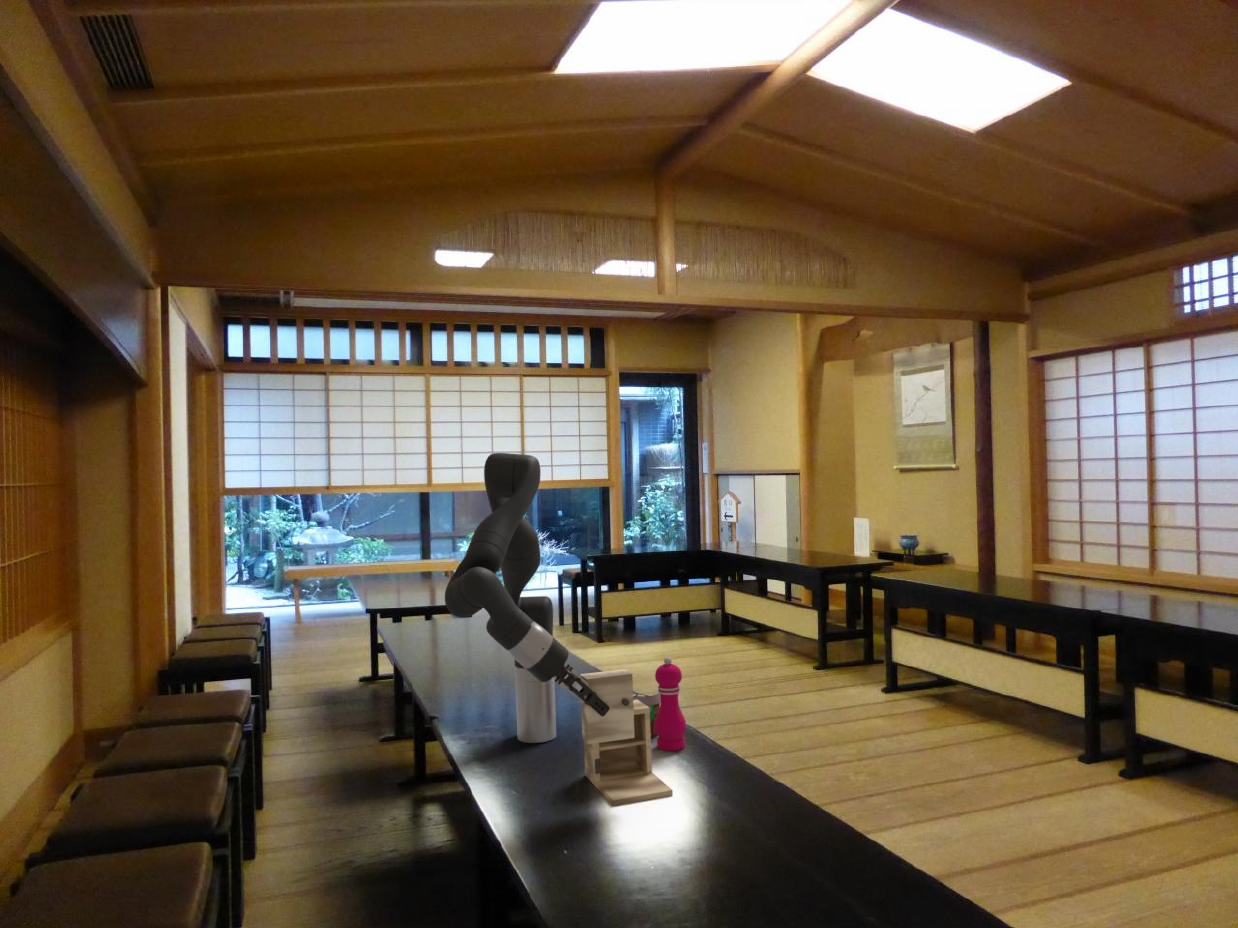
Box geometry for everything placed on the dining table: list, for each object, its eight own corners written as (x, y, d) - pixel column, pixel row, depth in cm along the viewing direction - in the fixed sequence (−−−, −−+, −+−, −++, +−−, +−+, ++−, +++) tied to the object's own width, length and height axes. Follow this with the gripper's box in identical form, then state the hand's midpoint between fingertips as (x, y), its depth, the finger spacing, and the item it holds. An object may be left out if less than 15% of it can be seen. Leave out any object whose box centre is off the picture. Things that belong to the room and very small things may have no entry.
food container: (605, 738, 194) (603, 695, 194) (615, 731, 199) (613, 689, 199) (655, 743, 189) (653, 699, 189) (663, 735, 195) (662, 692, 195)
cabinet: (585, 775, 170) (582, 706, 170) (639, 766, 174) (637, 699, 174) (613, 805, 154) (610, 729, 154) (672, 795, 158) (669, 721, 158)
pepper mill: (685, 752, 182) (681, 660, 182) (652, 751, 183) (649, 660, 184) (689, 741, 189) (685, 653, 189) (657, 740, 191) (654, 653, 191)
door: (582, 737, 156) (580, 674, 157) (627, 731, 159) (625, 669, 159) (590, 745, 152) (587, 680, 152) (636, 739, 155) (634, 674, 155)
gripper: (560, 642, 146) (627, 702, 150) (541, 628, 160) (604, 684, 163) (532, 675, 144) (600, 736, 148) (515, 658, 158) (579, 714, 162)
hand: (602, 708), depth 156 cm, fingers closed on door, 4 cm apart
